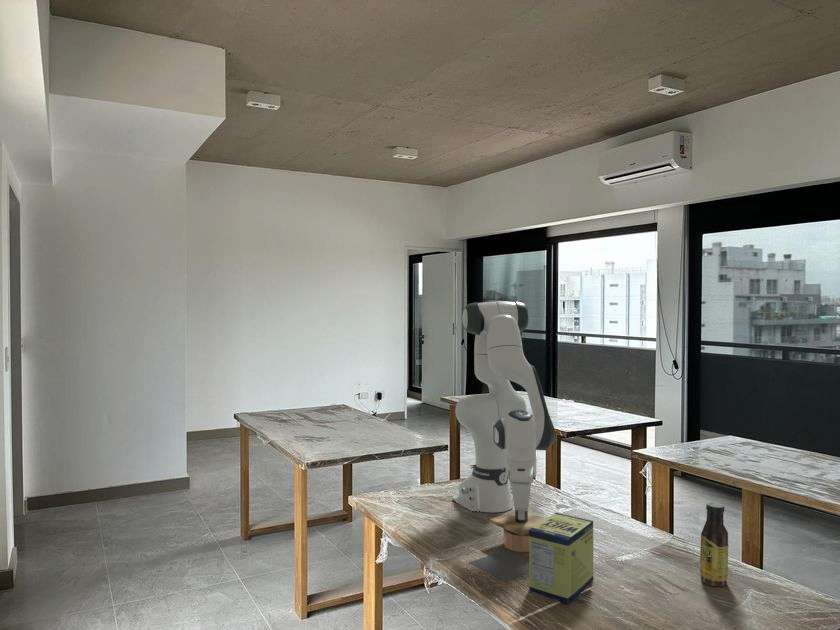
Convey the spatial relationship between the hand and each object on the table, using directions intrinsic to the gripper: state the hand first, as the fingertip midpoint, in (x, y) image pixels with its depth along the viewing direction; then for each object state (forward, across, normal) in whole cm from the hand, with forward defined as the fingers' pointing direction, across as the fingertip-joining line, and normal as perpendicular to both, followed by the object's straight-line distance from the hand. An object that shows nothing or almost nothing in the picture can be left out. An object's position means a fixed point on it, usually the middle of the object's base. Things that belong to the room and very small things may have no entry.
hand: (521, 516), depth 176 cm
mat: (+9, +14, -4) cm, 17 cm away
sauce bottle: (+9, +16, +47) cm, 51 cm away
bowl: (+9, 0, 0) cm, 9 cm away
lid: (+2, 0, 0) cm, 2 cm away
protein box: (+9, +24, +10) cm, 27 cm away
